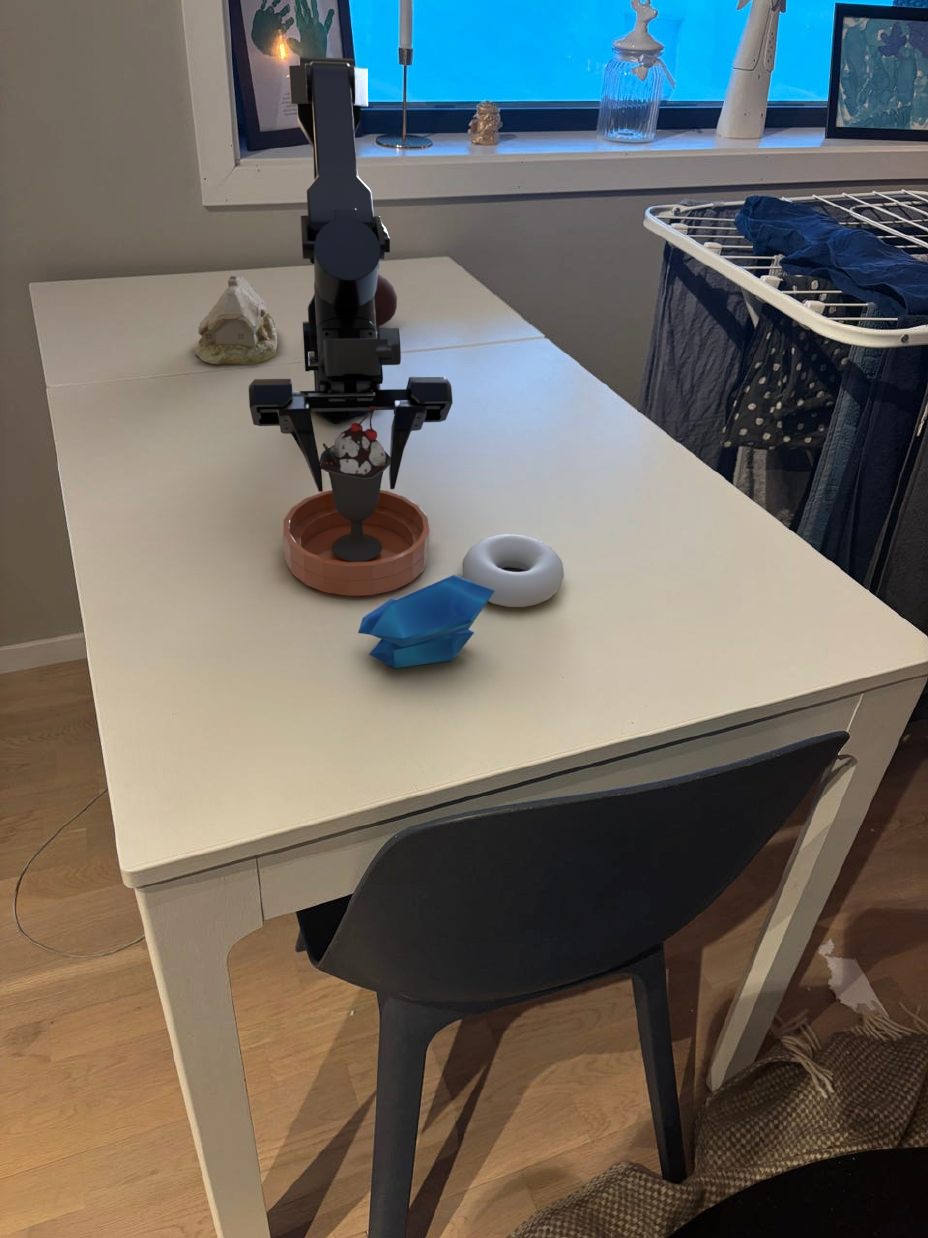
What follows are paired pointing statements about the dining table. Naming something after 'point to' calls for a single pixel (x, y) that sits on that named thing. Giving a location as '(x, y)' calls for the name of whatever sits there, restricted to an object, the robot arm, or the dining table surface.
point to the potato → (384, 301)
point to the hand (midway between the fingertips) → (356, 489)
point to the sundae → (356, 486)
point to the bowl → (322, 525)
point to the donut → (519, 553)
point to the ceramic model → (237, 328)
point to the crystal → (426, 623)
